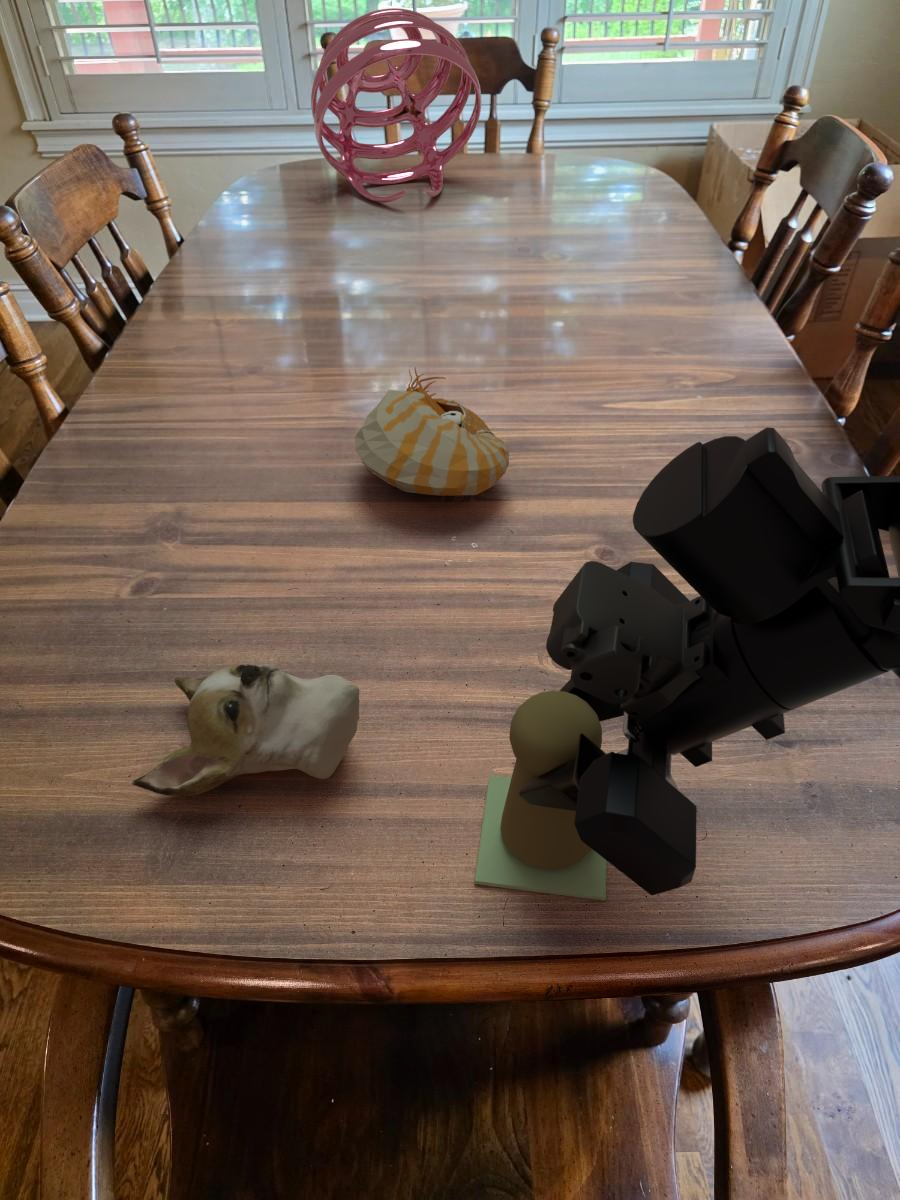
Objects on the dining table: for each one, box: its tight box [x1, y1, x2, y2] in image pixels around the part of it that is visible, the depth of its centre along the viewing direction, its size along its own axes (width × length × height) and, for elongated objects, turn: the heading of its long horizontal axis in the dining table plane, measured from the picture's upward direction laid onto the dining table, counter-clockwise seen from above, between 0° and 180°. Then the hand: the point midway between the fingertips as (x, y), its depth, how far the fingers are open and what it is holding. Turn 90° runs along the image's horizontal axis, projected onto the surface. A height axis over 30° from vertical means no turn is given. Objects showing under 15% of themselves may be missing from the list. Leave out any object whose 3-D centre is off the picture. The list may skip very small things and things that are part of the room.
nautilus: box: [354, 366, 510, 497], centre depth 86 cm, size 8×22×15 cm
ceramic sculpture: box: [131, 663, 360, 797], centre depth 58 cm, size 11×9×15 cm
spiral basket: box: [310, 7, 482, 204], centre depth 143 cm, size 28×28×27 cm
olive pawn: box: [500, 690, 603, 870], centre depth 51 cm, size 6×6×11 cm
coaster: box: [474, 774, 608, 902], centre depth 56 cm, size 8×8×1 cm
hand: (530, 760), depth 51 cm, fingers closed on olive pawn, 5 cm apart
